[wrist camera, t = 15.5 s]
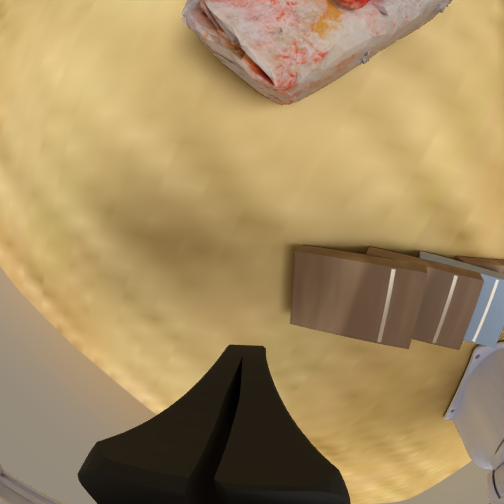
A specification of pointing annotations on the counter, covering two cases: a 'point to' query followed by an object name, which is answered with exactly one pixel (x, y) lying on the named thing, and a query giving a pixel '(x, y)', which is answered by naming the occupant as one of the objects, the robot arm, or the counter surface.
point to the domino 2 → (442, 300)
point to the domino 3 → (483, 263)
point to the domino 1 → (357, 295)
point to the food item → (302, 37)
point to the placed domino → (481, 303)
